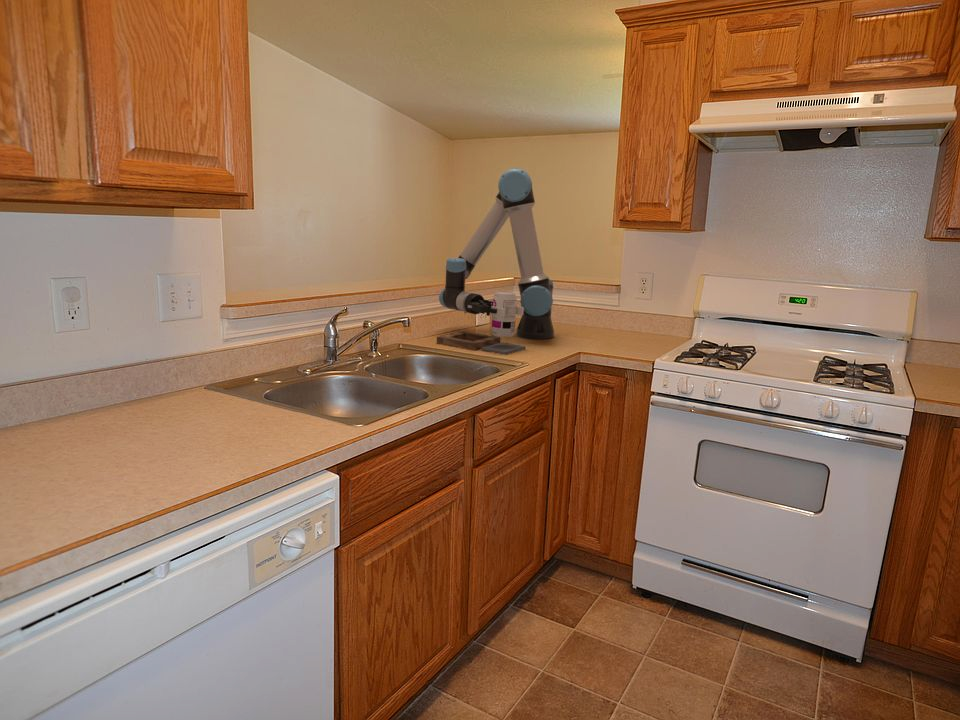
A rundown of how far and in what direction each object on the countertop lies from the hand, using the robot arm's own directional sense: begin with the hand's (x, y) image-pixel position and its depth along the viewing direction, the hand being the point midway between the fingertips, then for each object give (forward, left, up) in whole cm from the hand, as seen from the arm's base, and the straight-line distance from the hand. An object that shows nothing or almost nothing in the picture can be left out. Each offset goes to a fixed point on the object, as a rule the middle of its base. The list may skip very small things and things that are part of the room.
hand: (513, 312), depth 219 cm
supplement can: (-1, -5, -9) cm, 10 cm away
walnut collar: (-1, -19, -14) cm, 24 cm away
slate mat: (-1, -4, -14) cm, 15 cm away
